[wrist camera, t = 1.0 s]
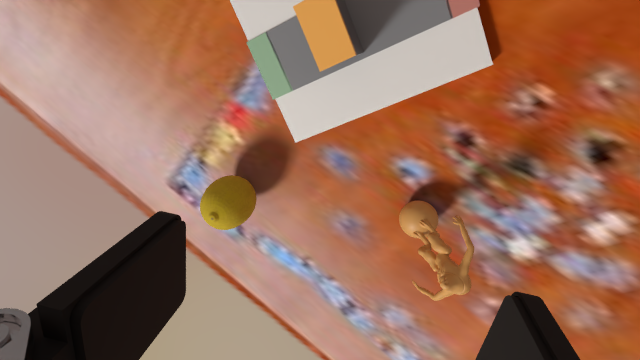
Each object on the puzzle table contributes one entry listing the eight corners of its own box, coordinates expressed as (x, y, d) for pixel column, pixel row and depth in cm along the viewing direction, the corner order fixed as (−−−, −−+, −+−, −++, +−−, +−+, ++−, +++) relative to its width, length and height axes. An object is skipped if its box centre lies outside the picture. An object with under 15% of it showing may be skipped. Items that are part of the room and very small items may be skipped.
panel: (437, -134, 27) (440, -143, 26) (491, 62, 31) (495, 63, 30) (228, -8, 34) (222, -10, 32) (296, 140, 38) (293, 143, 37)
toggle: (343, -3, 30) (329, -14, 24) (363, 52, 32) (355, 55, 26) (313, 13, 31) (292, 6, 25) (334, 66, 33) (320, 71, 26)
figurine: (418, 172, 36) (428, 228, 25) (471, 195, 36) (503, 261, 25) (384, 232, 40) (380, 304, 29) (432, 253, 40) (446, 334, 29)
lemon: (229, 209, 43) (195, 243, 36) (218, 167, 41) (179, 195, 34) (269, 207, 42) (243, 242, 35) (260, 164, 40) (230, 191, 33)
